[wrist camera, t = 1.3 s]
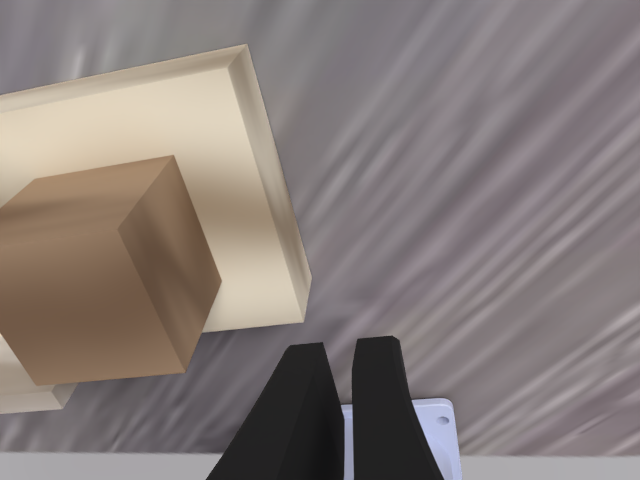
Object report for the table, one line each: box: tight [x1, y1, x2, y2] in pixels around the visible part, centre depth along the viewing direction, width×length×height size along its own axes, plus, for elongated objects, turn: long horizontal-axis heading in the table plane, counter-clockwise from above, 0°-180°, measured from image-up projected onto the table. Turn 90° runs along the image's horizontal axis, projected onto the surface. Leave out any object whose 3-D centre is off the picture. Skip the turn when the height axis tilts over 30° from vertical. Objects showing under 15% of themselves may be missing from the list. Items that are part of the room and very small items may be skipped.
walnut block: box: [0, 155, 222, 386], centre depth 16 cm, size 4×4×4 cm
